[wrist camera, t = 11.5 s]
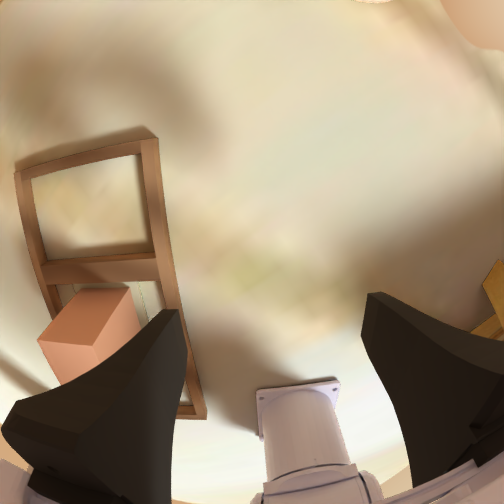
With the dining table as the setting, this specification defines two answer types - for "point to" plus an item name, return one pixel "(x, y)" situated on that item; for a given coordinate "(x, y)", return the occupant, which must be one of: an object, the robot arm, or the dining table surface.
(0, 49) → the dining table surface
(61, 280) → the wooden divided frame
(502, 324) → the picture frame
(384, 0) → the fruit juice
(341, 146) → the dining table surface
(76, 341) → the terracotta block
